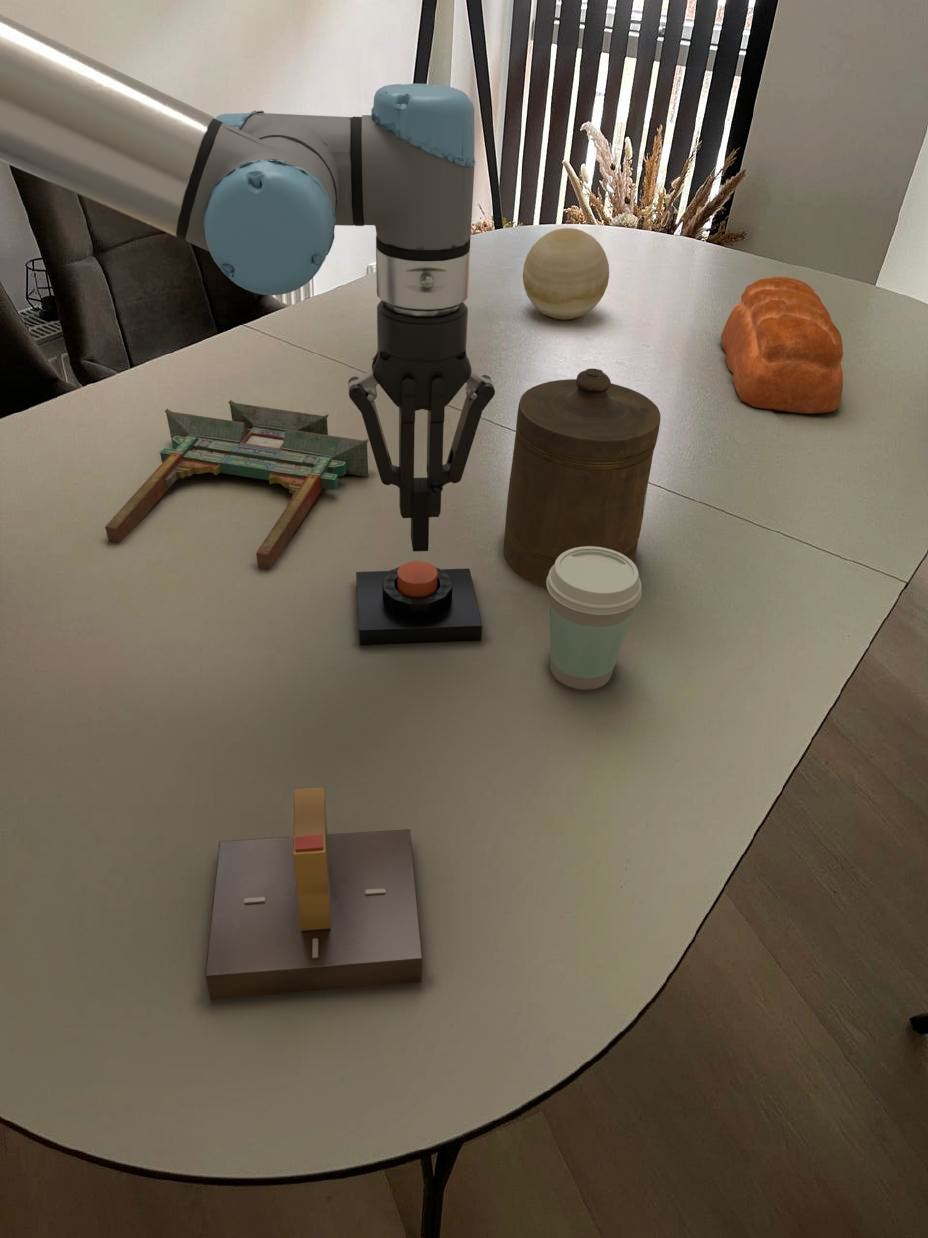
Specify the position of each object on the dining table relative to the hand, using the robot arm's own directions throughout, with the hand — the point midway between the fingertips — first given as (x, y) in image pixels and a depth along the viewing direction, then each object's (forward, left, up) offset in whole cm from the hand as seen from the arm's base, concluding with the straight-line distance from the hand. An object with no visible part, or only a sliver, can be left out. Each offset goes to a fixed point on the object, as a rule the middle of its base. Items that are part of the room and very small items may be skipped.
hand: (419, 543), depth 92 cm
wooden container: (+18, +10, -9) cm, 22 cm away
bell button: (0, 0, -5) cm, 5 cm away
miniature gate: (-19, +26, -9) cm, 33 cm away
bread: (+63, +61, -9) cm, 88 cm away
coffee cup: (+15, -10, -9) cm, 20 cm away
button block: (0, 0, -9) cm, 9 cm away
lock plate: (-10, -36, -9) cm, 38 cm away
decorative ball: (+33, +87, -9) cm, 93 cm away
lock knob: (-10, -36, -6) cm, 38 cm away
